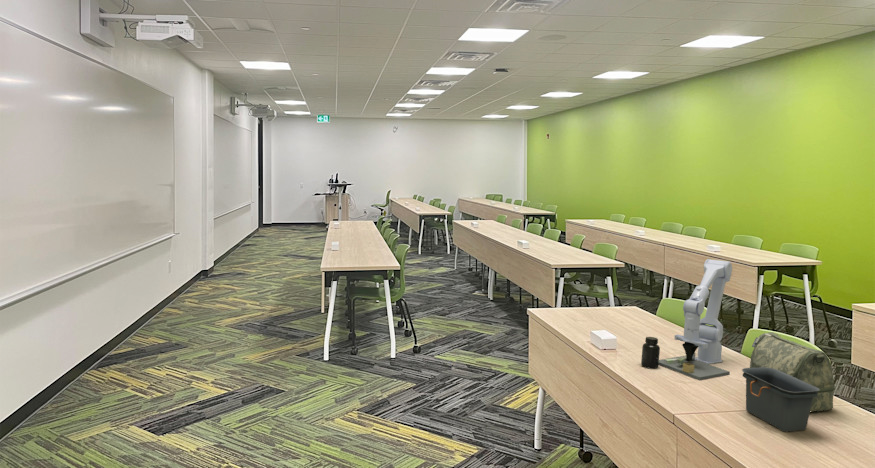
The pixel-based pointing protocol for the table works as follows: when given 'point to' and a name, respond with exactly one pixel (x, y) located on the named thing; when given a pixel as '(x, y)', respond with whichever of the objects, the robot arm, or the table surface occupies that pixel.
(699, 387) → the table surface
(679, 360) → the bar
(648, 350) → the supplement bottle
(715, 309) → the robot arm
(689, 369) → the yellow wooden cube
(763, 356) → the lunch bag
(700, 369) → the base
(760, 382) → the storage bin
